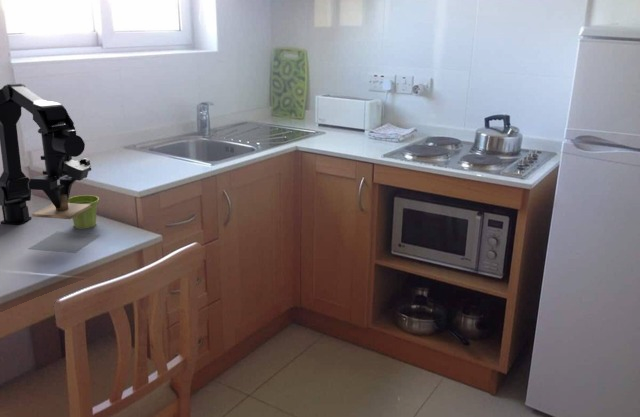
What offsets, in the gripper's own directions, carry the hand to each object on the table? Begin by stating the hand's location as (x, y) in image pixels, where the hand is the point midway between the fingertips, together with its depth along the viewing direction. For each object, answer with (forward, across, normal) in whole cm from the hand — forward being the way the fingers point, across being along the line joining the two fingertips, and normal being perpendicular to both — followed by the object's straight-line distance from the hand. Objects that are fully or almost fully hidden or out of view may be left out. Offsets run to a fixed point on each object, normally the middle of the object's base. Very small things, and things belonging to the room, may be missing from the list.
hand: (61, 206), depth 161 cm
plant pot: (+11, +14, +2) cm, 18 cm away
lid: (+2, 0, 0) cm, 2 cm away
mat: (+11, 0, 0) cm, 11 cm away
